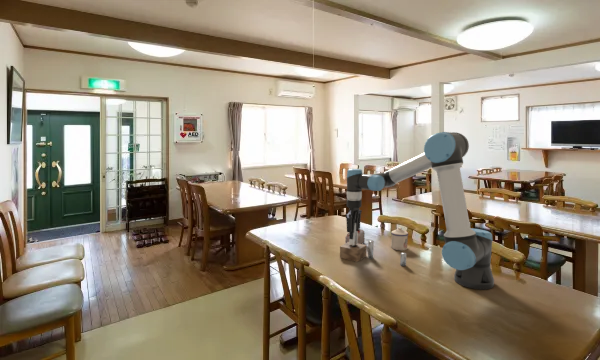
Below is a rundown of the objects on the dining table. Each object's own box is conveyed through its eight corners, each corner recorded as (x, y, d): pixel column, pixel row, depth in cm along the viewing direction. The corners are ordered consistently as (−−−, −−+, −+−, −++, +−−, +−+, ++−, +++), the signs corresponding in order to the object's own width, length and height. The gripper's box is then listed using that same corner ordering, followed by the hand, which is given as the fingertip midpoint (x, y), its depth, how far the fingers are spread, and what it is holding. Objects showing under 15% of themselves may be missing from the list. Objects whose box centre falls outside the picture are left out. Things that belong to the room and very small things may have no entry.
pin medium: (374, 257, 173) (374, 240, 172) (371, 259, 171) (372, 242, 170) (369, 256, 175) (369, 239, 174) (367, 258, 173) (367, 241, 172)
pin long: (356, 251, 175) (357, 222, 173) (354, 252, 172) (354, 223, 171) (352, 250, 176) (352, 222, 174) (349, 251, 174) (350, 223, 172)
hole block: (366, 256, 176) (366, 245, 175) (357, 261, 168) (357, 250, 167) (349, 252, 182) (349, 241, 181) (339, 257, 174) (340, 246, 173)
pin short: (406, 265, 163) (407, 253, 163) (404, 266, 161) (405, 254, 161) (401, 263, 165) (401, 252, 164) (399, 265, 163) (399, 253, 162)
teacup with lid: (407, 251, 182) (408, 230, 181) (390, 249, 186) (390, 229, 184) (408, 244, 194) (409, 225, 192) (392, 243, 197) (392, 223, 195)
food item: (357, 250, 185) (358, 232, 184) (344, 248, 189) (344, 231, 188) (365, 243, 197) (366, 227, 196) (352, 241, 201) (353, 225, 200)
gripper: (354, 196, 179) (353, 238, 182) (339, 200, 167) (339, 246, 170) (367, 197, 175) (366, 241, 178) (353, 202, 162) (352, 249, 165)
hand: (353, 243), depth 174 cm, fingers closed on pin long, 2 cm apart
